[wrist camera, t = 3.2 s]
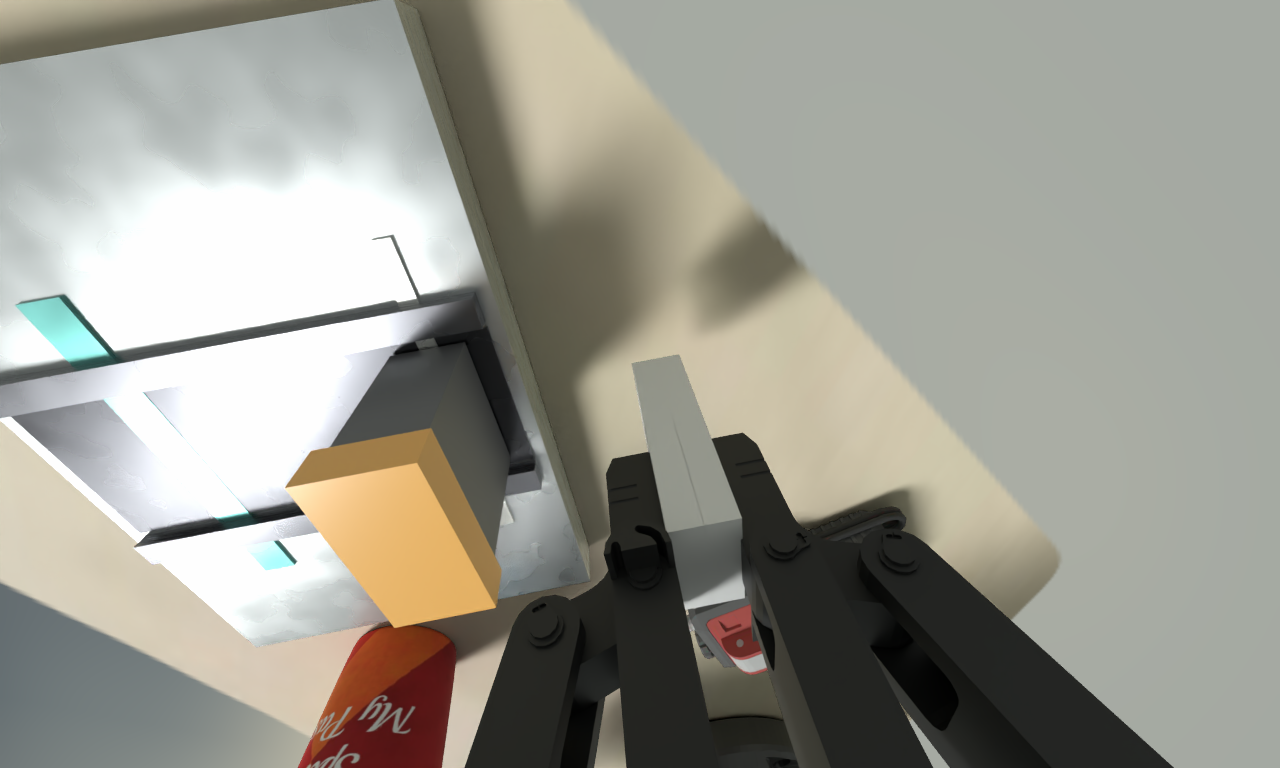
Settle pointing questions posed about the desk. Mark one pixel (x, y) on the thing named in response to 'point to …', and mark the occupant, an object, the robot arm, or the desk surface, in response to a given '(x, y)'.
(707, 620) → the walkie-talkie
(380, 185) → the console board
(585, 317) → the desk surface
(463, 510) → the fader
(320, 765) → the paper cup
